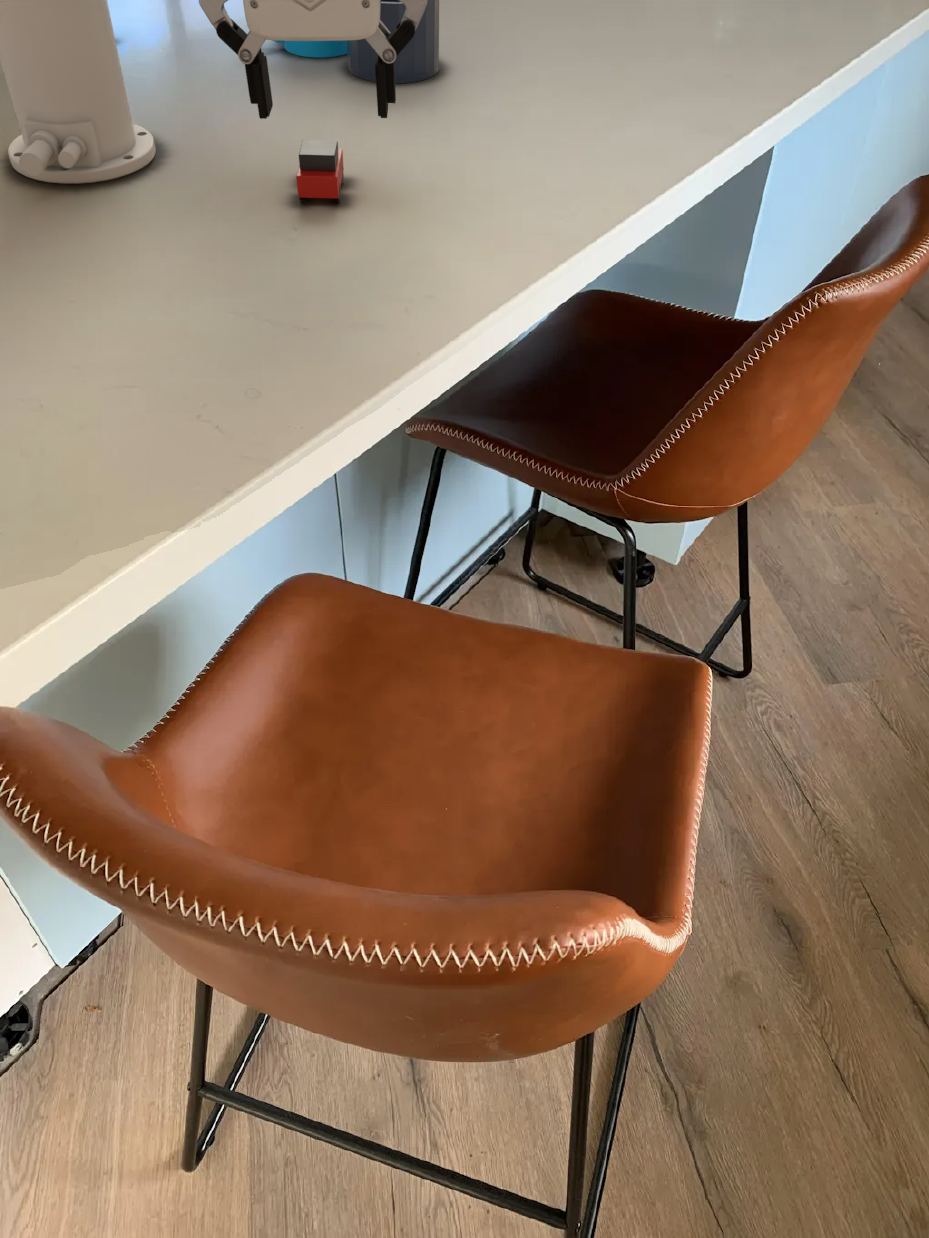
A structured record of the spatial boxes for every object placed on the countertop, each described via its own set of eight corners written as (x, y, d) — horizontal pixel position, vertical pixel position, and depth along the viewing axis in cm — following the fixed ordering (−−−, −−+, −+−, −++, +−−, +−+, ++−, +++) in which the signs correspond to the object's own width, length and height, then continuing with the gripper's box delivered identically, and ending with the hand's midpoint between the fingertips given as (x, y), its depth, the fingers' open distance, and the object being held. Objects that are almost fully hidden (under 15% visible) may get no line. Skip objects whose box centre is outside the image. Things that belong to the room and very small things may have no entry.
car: (339, 207, 81) (336, 161, 78) (298, 206, 81) (294, 159, 78) (344, 178, 85) (341, 133, 83) (306, 177, 85) (302, 132, 82)
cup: (438, 85, 103) (439, 4, 97) (345, 82, 102) (340, 1, 97) (438, 55, 110) (439, -22, 104) (351, 52, 109) (347, -25, 104)
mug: (347, 33, 114) (343, -48, 108) (361, 55, 109) (357, -29, 103) (246, 38, 111) (236, -45, 105) (254, 61, 106) (244, -25, 100)
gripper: (162, -144, 63) (211, 130, 76) (423, -144, 63) (429, 129, 76) (184, -161, 68) (226, 97, 81) (424, -162, 69) (430, 96, 81)
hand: (325, 112), depth 78 cm, fingers open, 9 cm apart
